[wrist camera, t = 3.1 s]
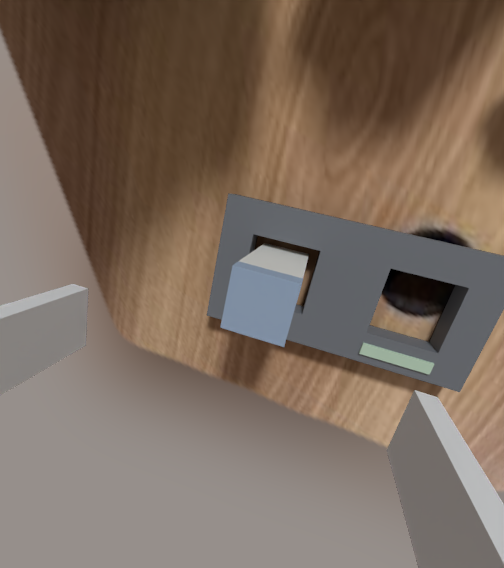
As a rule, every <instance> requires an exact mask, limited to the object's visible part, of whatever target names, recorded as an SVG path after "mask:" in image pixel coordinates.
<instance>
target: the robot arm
mask: <svg viewBox="0 0 504 568" xmlns="http://www.w3.org/2000/svg"><path fill="white" fill-rule="evenodd" d="M87 309H88V288H85V287H82V286H78V285H76V284H70V285H67V286H64V287H61V288H57V289H54V290H50V291H47V292H44V293H41V294H37V295H34V296H31V297H28V298H24V299H21V300H17V301H14V302H11V303H7V304H4V305H1V306H0V395H2V394H4V393H5V392H7V391H8V390H11V389H12V388H14V387H16V386H17V385H19V384H21V383H22V382H24V381H26V380H28V379H29V378H31V377H33V376H35V375H36V374H38V373H40V372H41V371H43V370H45V369H47V368H48V367H50V366H52V365H53V364H55V363H57V362H59V361H60V360H62V359H64V358H65V357H67V356H69V355H70V354H72V353H74V352H76V351H77V350H79V349H81V348H82V347H84V346H86V330H87ZM387 454H388V457H389V461H390V465H391V469H392V472H393V476H394V480H395V483H396V486H397V491H398V494H399V498H400V502H401V505H402V509H403V513H404V516H405V520H406V524H407V528H408V531H409V535H410V538H411V542H412V546H413V550H414V553H415V557H416V561H417V565H418V568H504V504H503V502H502V500H501V499H500V497H499V496H498V494H497V492H496V491H495V489H494V488H493V486H492V484H491V483H490V481H489V479H488V478H487V476H486V475H485V473H484V471H483V470H482V468H481V466H480V465H479V463H478V462H477V460H476V458H475V457H474V455H473V454H472V452H471V450H470V449H469V447H468V445H467V444H466V442H465V441H464V439H463V437H462V436H461V434H460V433H459V431H458V429H457V428H456V426H455V424H454V423H453V421H452V420H451V418H450V416H449V415H448V413H447V411H446V410H445V408H444V407H443V405H442V403H441V402H440V400H439V399H438V397H435V396H432V395H429V394H426V393H422V392H419V391H416V390H414V392H413V394H412V396H411V399H410V401H409V403H408V405H407V407H406V409H405V412H404V414H403V416H402V418H401V420H400V422H399V425H398V427H397V429H396V431H395V433H394V436H393V438H392V440H391V442H390V444H389V446H388V449H387Z"/></svg>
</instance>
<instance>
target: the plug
mask: <svg viewBox="0 0 504 568" xmlns="http://www.w3.org/2000/svg"><path fill="white" fill-rule="evenodd" d="M308 256H309V254H307V253H303V252H299V251H295V250H291V249H287V248H283V247H279V246H275V245H271V244H267V243H264V244H263V245H261V246H260V247H258V248H257V249H256V250H254V251H253V252H251V253H250V254H248V255H247V256H245V257H244V258H242V259H241V260H240V261H238V262H237V263H235V264H234V265H233V266H232V271H231V276H230V281H229V286H228V291H227V296H226V301H225V306H224V312H223V317H222V322H221V327H220V328H223V329H227V330H230V331H233V332H236V333H240V334H243V335H246V336H249V337H252V338H256V339H259V340H262V341H265V342H269V343H272V344H275V345H278V346H282V347H284V346H285V342H286V338H287V335H288V331H289V328H290V324H291V321H292V317H293V314H294V310H295V306H296V303H297V299H298V296H299V292H300V289H301V285H302V281H303V277H304V273H305V269H306V265H307V261H308Z"/></svg>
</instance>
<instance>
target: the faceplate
mask: <svg viewBox="0 0 504 568" xmlns="http://www.w3.org/2000/svg"><path fill="white" fill-rule="evenodd" d="M257 236H262V237H266V238H270V239H274V240H278V241H282V242H286V243H290V244H294V245H299V246H303V247H307V248H311V249H315V250H319V251H320V252H319V255H318V259H317V262H316V265H315V269H314V272H313V276H312V279H311V283H310V286H309V290H308V293H307V296H306V300H305V303H304V307H303V306H300V305H296V306H295V310H294V314H293V317H292V321H291V324H290V328H289V331H288V335H287V338H286V340H290V341H293V342H296V343H300V344H303V345H306V346H309V347H313V348H316V349H319V350H323V351H326V352H329V353H332V354H336V355H339V356H342V357H346V358H349V359H352V360H356V361H359V362H362V363H365V364H369V365H372V366H375V367H379V368H382V369H385V370H388V371H392V372H395V373H398V374H402V375H405V376H408V377H412V378H415V379H418V380H421V381H425V382H428V383H431V384H435V385H438V386H441V387H444V388H448V389H451V390H454V391H458V392H460V391H461V389H462V387H463V385H464V383H465V381H466V379H467V377H468V376H469V374H470V372H471V370H472V368H473V366H474V364H475V362H476V360H477V359H478V357H479V355H480V353H481V351H482V349H483V347H484V345H485V343H486V342H487V340H488V338H489V336H490V334H491V332H492V330H493V328H494V326H495V325H496V323H497V321H498V319H499V317H500V315H501V313H502V311H503V309H504V256H503V255H498V254H494V253H490V252H485V251H481V250H476V249H472V248H468V247H463V246H459V245H455V244H450V243H446V242H442V241H437V240H433V239H428V238H424V237H420V236H415V235H411V234H407V233H402V232H398V231H393V230H389V229H385V228H380V227H376V226H372V225H367V224H363V223H359V222H354V221H350V220H345V219H341V218H337V217H332V216H328V215H324V214H319V213H315V212H311V211H306V210H302V209H297V208H293V207H289V206H284V205H280V204H276V203H271V202H267V201H263V200H258V199H254V198H249V197H245V196H241V195H236V194H229V193H228V199H227V205H226V210H225V216H224V222H223V227H222V233H221V238H220V244H219V250H218V255H217V261H216V266H215V272H214V278H213V283H212V289H211V295H210V300H209V306H208V311H207V316H211V317H214V318H217V319H220V320H222V317H223V312H224V306H225V301H226V296H227V291H228V286H229V281H230V276H231V271H232V266H233V265H234V264H235V263H237V262H238V261H240V260H241V259H242V258H244V257H245V256H247V255H248V254H250V253H251V252H253V251H254V250H255V245H256V240H257ZM390 269H395V270H399V271H403V272H407V273H411V274H415V275H419V276H423V277H427V278H431V279H435V280H439V281H443V282H447V283H451V284H455V287H454V289H453V291H452V293H451V296H450V298H449V300H448V302H447V304H446V307H445V309H444V311H443V313H442V315H441V317H440V320H439V322H438V324H437V326H436V328H435V330H434V333H433V335H432V337H431V339H430V341H429V342H427V341H424V340H420V339H417V338H413V337H410V336H406V335H402V334H399V333H395V332H392V331H388V330H385V329H381V328H378V327H374V326H371V325H370V322H371V320H372V317H373V314H374V312H375V309H376V306H377V304H378V301H379V298H380V296H381V293H382V290H383V288H384V285H385V282H386V280H387V277H388V274H389V272H390Z"/></svg>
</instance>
